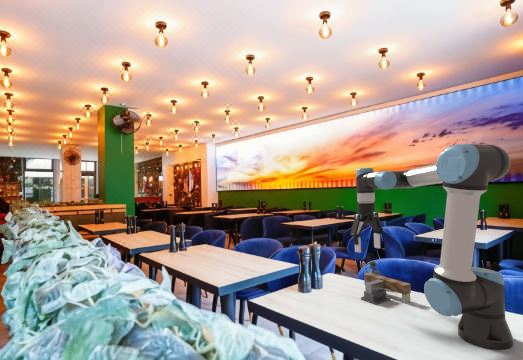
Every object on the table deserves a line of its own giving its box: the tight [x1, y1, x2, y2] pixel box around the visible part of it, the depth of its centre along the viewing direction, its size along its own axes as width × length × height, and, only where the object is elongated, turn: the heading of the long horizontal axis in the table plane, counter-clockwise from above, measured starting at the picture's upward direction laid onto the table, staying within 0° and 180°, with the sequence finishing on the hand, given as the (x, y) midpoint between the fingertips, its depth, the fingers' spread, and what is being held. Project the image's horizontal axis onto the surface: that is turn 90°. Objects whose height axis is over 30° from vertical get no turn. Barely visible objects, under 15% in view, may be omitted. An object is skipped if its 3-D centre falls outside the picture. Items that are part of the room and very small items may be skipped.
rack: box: [364, 285, 411, 305], centre depth 148 cm, size 22×3×4 cm, turn 32°
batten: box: [363, 273, 412, 295], centre depth 149 cm, size 22×4×4 cm, turn 32°
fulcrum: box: [360, 279, 391, 306], centre depth 144 cm, size 8×10×8 cm
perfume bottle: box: [363, 261, 383, 276], centre depth 163 cm, size 6×6×12 cm
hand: (367, 250), depth 142 cm, fingers open, 13 cm apart
